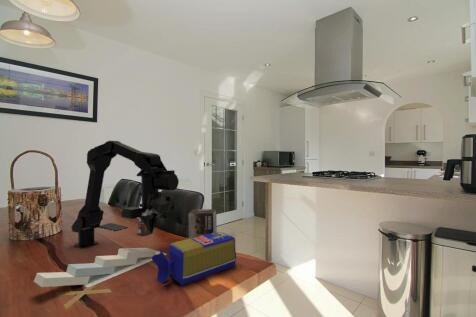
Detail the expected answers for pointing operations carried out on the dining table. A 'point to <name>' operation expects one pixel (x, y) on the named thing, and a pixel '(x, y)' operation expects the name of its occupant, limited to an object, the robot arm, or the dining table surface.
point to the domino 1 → (59, 279)
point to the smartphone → (113, 227)
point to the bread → (196, 258)
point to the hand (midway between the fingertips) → (150, 233)
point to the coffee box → (202, 222)
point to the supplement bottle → (142, 227)
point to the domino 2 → (88, 269)
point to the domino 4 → (136, 252)
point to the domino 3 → (114, 261)
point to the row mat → (118, 271)
